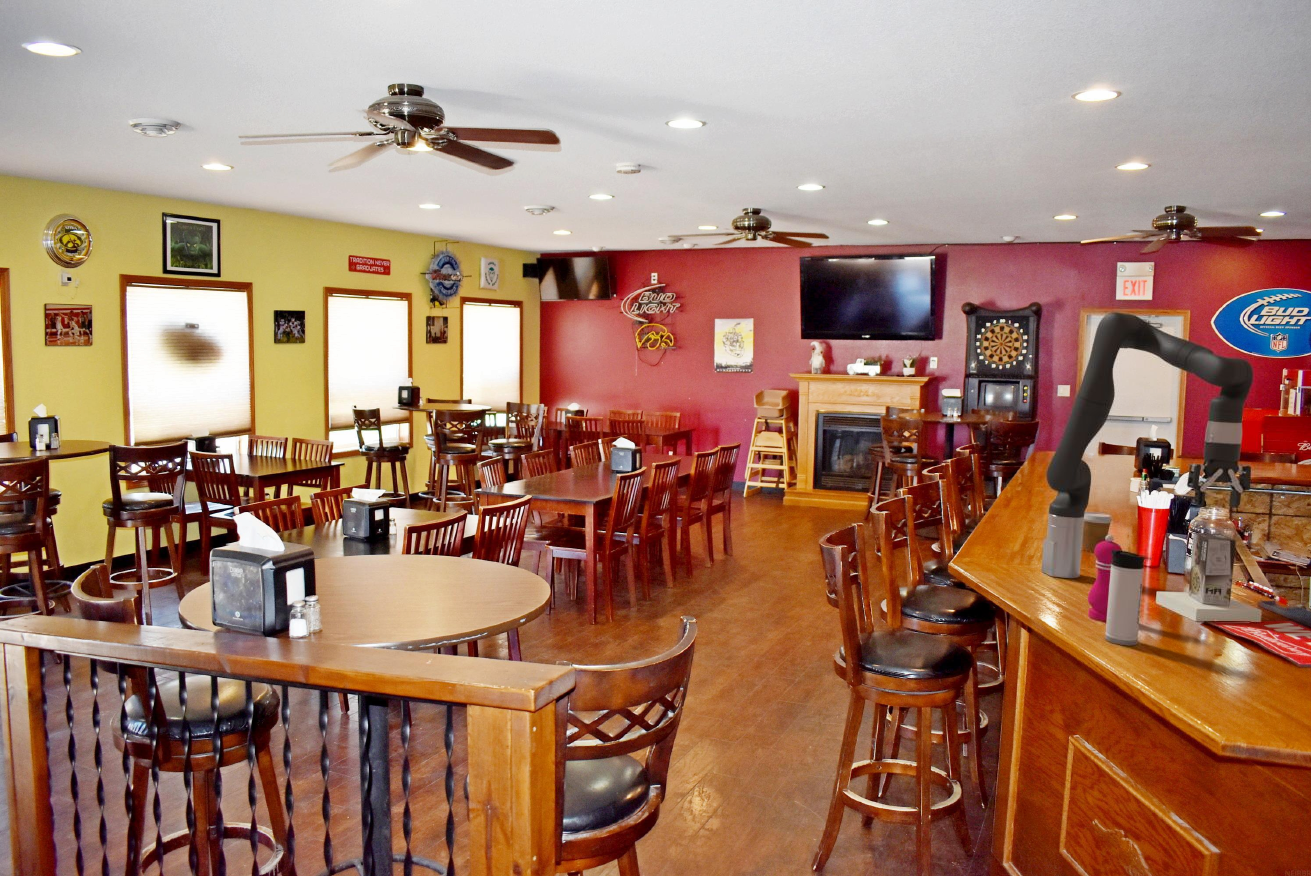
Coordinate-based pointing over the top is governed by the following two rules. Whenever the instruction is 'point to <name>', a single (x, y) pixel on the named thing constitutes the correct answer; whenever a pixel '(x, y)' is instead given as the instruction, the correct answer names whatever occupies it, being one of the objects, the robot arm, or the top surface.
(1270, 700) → the top surface
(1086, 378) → the robot arm
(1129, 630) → the travel mug
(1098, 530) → the disposable coffee cup
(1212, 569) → the coffee box
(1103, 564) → the pepper mill
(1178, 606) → the plinth
